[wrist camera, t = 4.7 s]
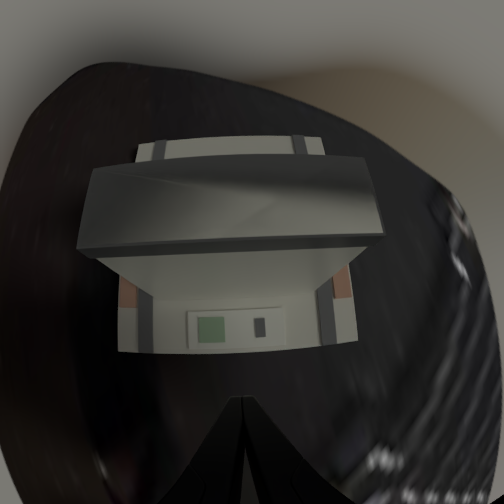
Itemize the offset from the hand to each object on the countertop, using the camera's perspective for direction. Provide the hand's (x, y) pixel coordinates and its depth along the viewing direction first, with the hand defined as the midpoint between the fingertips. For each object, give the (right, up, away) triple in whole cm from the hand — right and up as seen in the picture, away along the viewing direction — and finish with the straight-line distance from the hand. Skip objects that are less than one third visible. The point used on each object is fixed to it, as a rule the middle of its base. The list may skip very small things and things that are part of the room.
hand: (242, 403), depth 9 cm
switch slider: (-1, +4, +9) cm, 10 cm away
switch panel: (-1, +7, +12) cm, 14 cm away
